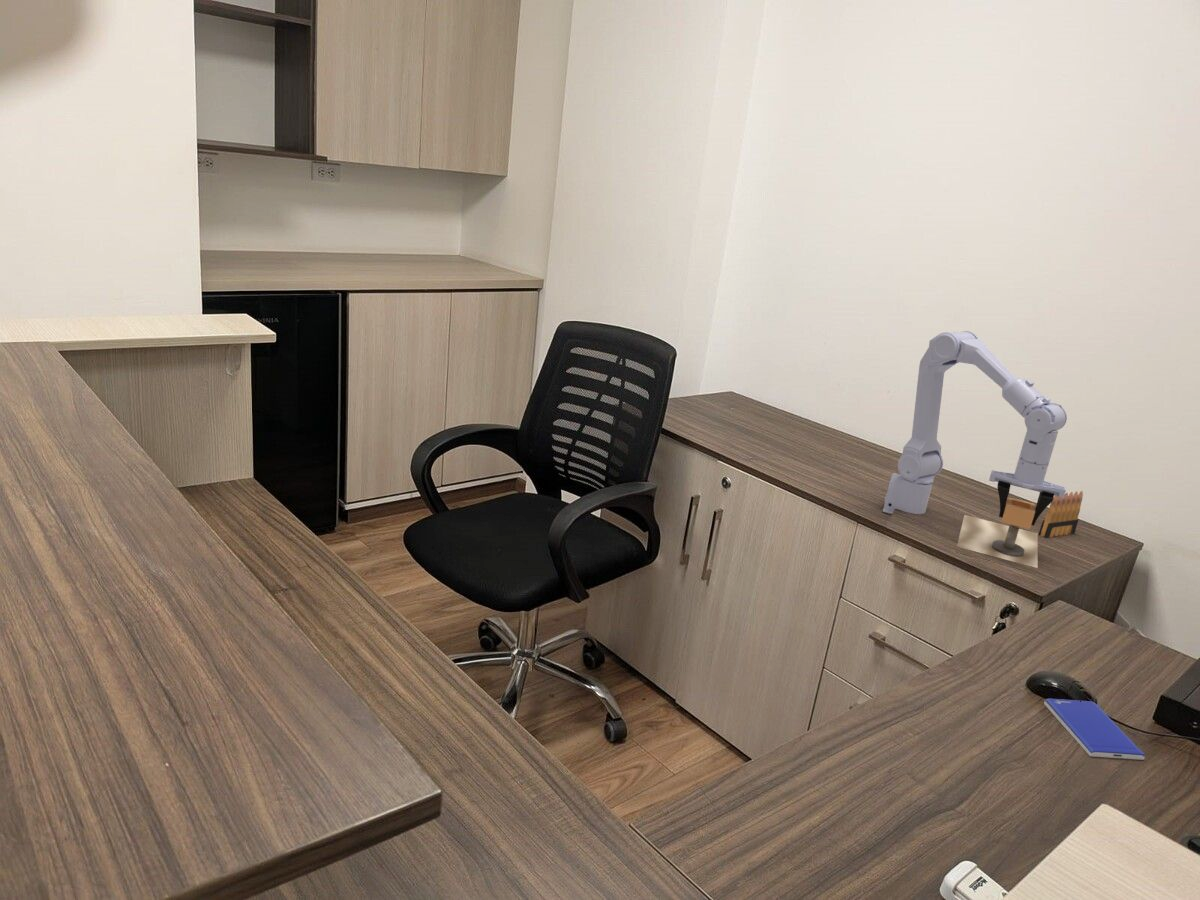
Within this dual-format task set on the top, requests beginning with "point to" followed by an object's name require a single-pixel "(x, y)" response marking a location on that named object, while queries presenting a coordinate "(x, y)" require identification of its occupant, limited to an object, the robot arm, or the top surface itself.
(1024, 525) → the collar
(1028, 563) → the post board
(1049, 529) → the ammunition clip
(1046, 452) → the robot arm
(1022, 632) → the top surface
